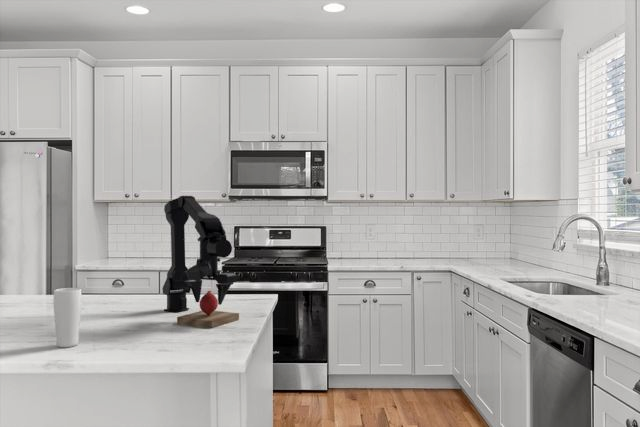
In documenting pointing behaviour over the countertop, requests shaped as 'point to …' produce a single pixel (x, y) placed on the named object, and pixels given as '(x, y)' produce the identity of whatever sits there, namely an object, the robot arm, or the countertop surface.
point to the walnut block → (208, 319)
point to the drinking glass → (67, 316)
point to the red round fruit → (208, 303)
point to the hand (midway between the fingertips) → (208, 303)
